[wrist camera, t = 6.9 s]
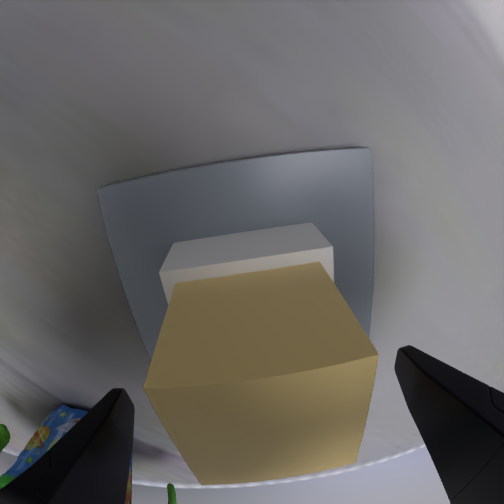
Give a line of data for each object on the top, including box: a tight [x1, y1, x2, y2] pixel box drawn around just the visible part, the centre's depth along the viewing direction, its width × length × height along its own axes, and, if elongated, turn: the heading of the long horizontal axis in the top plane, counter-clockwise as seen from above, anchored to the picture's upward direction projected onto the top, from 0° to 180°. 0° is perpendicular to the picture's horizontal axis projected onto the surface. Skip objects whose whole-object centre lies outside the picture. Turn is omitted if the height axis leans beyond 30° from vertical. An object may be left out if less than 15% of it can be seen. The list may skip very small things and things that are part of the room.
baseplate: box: [96, 147, 374, 360], centre depth 15 cm, size 12×12×1 cm
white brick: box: [159, 222, 334, 305], centre depth 13 cm, size 6×6×3 cm
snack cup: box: [0, 405, 176, 504], centre depth 15 cm, size 16×10×10 cm
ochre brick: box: [143, 262, 379, 485], centre depth 9 cm, size 5×5×5 cm
